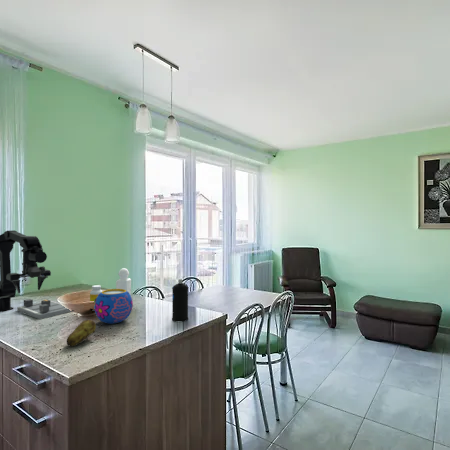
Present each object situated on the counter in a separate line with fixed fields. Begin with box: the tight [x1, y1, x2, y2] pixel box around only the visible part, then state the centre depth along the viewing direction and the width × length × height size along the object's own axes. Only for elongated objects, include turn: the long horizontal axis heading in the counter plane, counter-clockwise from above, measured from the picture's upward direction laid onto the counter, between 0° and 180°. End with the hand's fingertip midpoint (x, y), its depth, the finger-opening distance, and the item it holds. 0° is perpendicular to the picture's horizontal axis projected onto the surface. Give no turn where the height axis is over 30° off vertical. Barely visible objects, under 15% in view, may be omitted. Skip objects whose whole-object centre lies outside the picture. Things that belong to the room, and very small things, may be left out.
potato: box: [66, 319, 97, 348], centre depth 125 cm, size 8×13×8 cm, turn 143°
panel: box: [16, 298, 71, 320], centre depth 169 cm, size 25×18×6 cm
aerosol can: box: [171, 278, 190, 322], centre depth 155 cm, size 8×8×20 cm
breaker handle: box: [40, 299, 51, 307], centre depth 169 cm, size 4×3×3 cm
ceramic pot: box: [94, 288, 134, 325], centre depth 151 cm, size 18×18×15 cm
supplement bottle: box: [89, 284, 103, 302], centre depth 173 cm, size 7×7×13 cm
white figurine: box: [115, 267, 132, 296], centre depth 178 cm, size 6×6×22 cm
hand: (29, 291), depth 159 cm, fingers open, 9 cm apart
